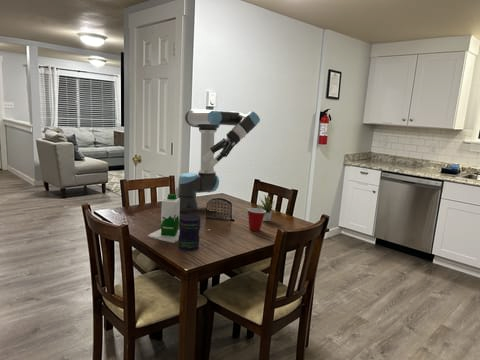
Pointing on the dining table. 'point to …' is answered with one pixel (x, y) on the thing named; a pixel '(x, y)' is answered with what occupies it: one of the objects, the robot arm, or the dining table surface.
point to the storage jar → (189, 232)
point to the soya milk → (170, 215)
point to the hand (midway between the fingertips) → (207, 162)
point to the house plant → (266, 205)
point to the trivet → (164, 236)
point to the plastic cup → (255, 218)
